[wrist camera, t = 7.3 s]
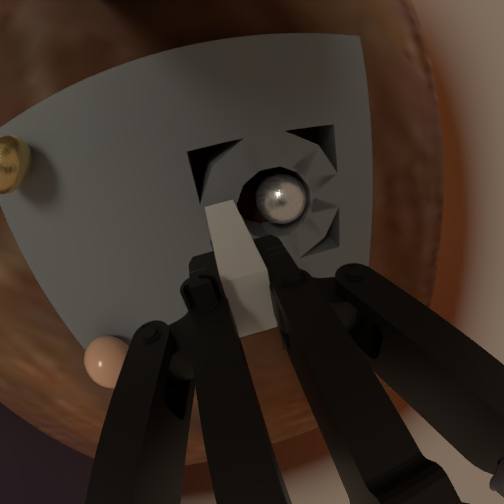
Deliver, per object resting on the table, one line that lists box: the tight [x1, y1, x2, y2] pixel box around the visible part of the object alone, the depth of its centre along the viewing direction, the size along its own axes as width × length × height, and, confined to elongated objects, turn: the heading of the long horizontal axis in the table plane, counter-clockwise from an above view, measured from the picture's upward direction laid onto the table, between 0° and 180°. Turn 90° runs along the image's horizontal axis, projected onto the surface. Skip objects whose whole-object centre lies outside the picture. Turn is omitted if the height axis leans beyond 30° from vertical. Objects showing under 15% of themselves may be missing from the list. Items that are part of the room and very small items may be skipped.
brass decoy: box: [0, 135, 32, 194], centre depth 10 cm, size 3×3×3 cm
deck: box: [0, 33, 373, 350], centre depth 17 cm, size 24×20×2 cm
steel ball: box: [255, 173, 307, 224], centre depth 17 cm, size 3×3×3 cm
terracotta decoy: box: [84, 336, 129, 388], centre depth 17 cm, size 4×4×4 cm
